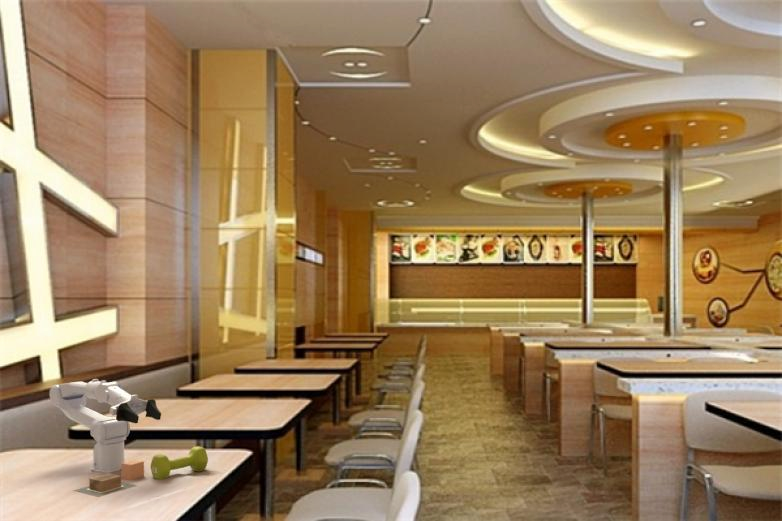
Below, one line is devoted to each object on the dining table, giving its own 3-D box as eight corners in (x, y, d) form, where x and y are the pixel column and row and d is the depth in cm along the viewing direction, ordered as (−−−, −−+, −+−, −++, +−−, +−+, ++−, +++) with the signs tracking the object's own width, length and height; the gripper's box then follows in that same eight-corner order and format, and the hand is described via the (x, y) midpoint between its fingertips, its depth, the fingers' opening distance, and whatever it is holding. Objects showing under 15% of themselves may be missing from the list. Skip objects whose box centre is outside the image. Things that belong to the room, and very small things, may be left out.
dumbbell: (160, 483, 198) (160, 458, 198) (148, 478, 203) (147, 454, 204) (210, 471, 209) (210, 447, 210) (197, 467, 215) (197, 444, 215)
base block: (89, 489, 192) (89, 478, 192) (108, 483, 197) (108, 473, 197) (101, 492, 188) (101, 481, 188) (121, 486, 193) (121, 475, 193)
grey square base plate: (73, 492, 191) (73, 490, 191) (111, 481, 201) (111, 479, 201) (98, 499, 184) (98, 496, 184) (136, 487, 194) (136, 485, 194)
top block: (121, 480, 203) (121, 463, 203) (134, 476, 206) (134, 459, 207) (131, 482, 200) (130, 464, 200) (144, 478, 204) (143, 461, 204)
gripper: (104, 392, 204) (129, 408, 197) (146, 387, 216) (171, 402, 208) (100, 414, 205) (124, 431, 197) (142, 408, 217) (167, 424, 209)
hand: (148, 418), depth 203 cm, fingers open, 7 cm apart
